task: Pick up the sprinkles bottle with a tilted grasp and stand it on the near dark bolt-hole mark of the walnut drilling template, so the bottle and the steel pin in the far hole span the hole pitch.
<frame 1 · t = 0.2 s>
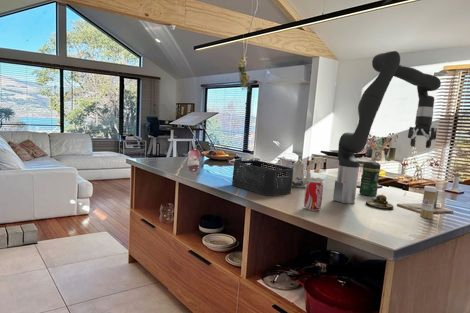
hand: (420, 147, 171), 29 cm above the counter, tool pointing down, fingers open, 8 cm apart
storage bin: (260, 189, 171), on the counter
drilling template: (424, 209, 155), on the counter
olive green hat: (379, 207, 153), on the counter
soda can: (311, 209, 137), on the counter
sprinkles bottle: (426, 217, 139), on the counter
chinaware: (299, 185, 193), on the counter
coffee jar: (368, 195, 181), on the counter
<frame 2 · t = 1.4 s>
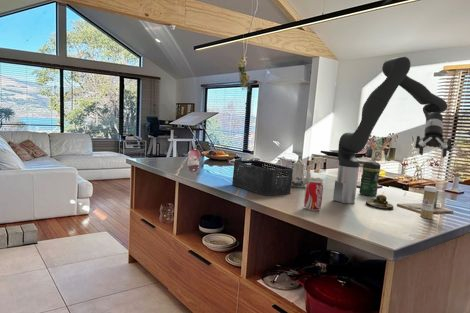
hand: (432, 155, 147), 26 cm above the counter, tool tilted 45°, fingers open, 8 cm apart
nothing on the counter moved.
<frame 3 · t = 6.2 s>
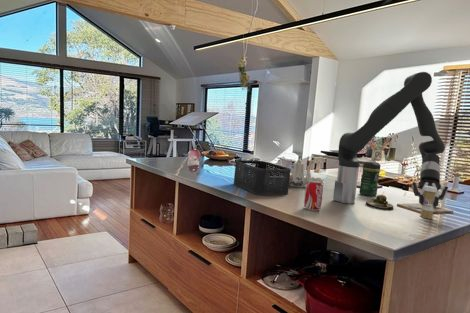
hand: (428, 204, 137), 6 cm above the counter, tool tilted 45°, fingers closed on sprinkles bottle, 4 cm apart
sprinkles bottle: (426, 217, 139), on the counter, touching gripper
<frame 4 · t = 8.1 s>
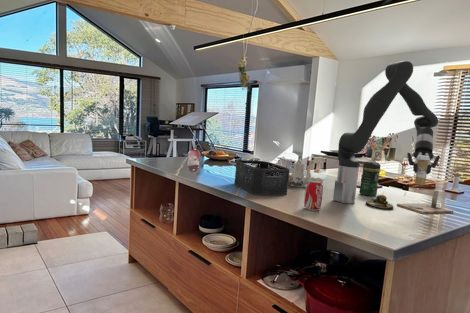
hand: (421, 172, 149), 18 cm above the counter, tool tilted 45°, fingers closed on sprinkles bottle, 4 cm apart
sprinkles bottle: (419, 184, 151), point 12 cm above the counter, touching gripper
when the fingers open (8 cm above the counter, at t = 10.4 s): sprinkles bottle drops 1 cm, resting on drilling template.
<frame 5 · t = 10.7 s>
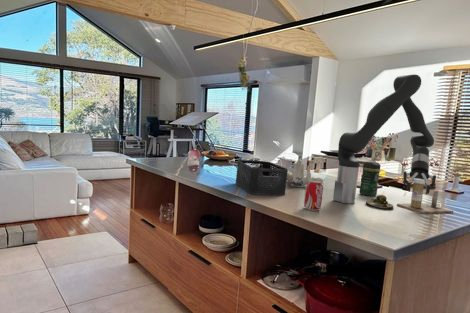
hand: (418, 191, 151), 9 cm above the counter, tool tilted 45°, fingers open, 6 cm apart
sprinkles bottle: (415, 207, 153), point 1 cm above the counter, touching drilling template
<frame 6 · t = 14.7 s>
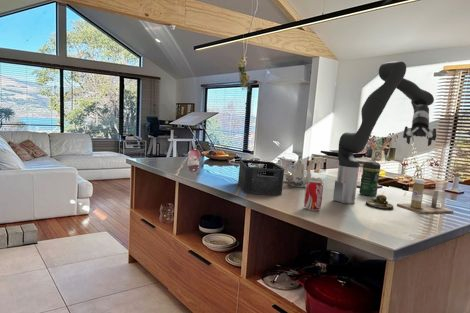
hand: (418, 143, 159), 31 cm above the counter, tool tilted 45°, fingers open, 8 cm apart
at the end: sprinkles bottle 0.2 cm from the target spot on the drilling template, point 0.9 cm above the drilling template's base; sprinkles bottle tilted 0°; the gripper is holding nothing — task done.
